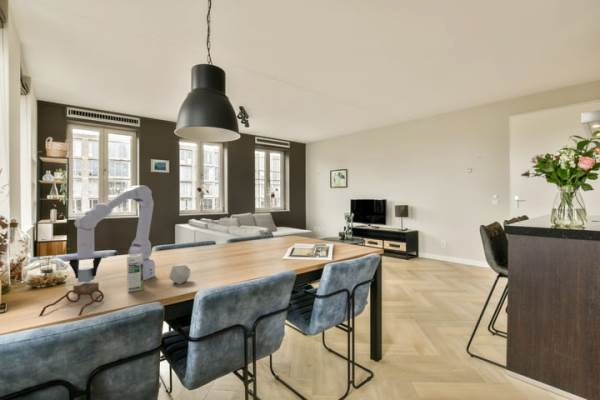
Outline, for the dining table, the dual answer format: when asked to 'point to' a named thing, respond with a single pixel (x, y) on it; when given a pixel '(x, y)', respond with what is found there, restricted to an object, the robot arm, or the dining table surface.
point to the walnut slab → (86, 287)
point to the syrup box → (134, 272)
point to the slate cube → (85, 274)
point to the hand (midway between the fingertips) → (86, 276)
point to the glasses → (77, 299)
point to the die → (179, 273)
